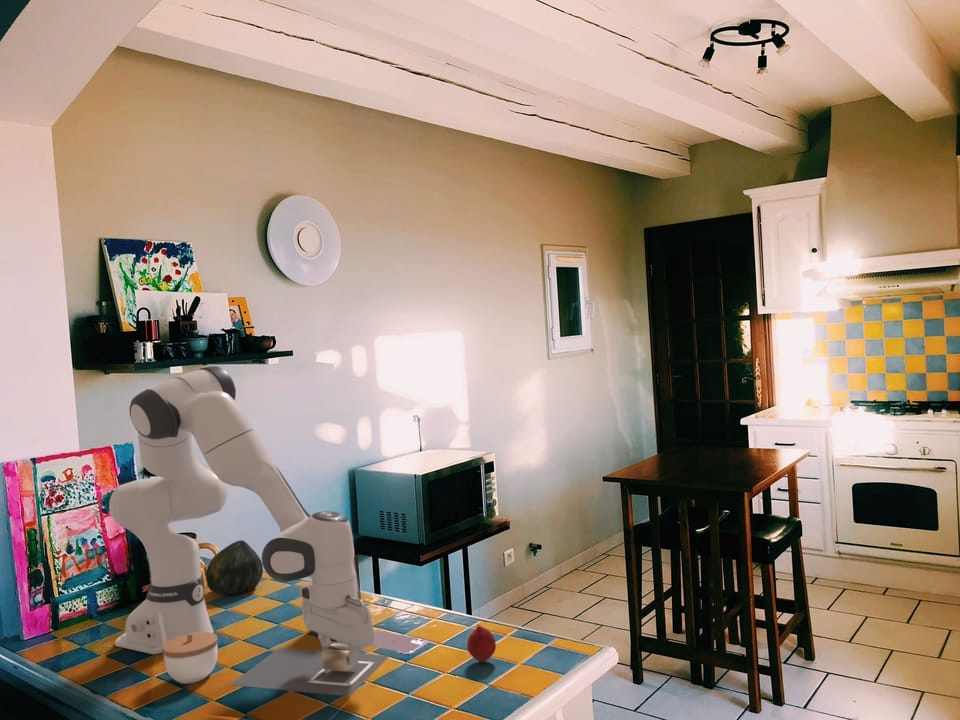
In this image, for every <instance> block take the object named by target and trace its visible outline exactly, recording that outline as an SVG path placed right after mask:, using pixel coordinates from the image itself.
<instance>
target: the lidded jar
mask: <svg viewBox="0 0 960 720" xmlns="http://www.w3.org/2000/svg"><path fill="white" fill-rule="evenodd" d="M218 642H219V641H218V635H217V634H216V633H214V632H213V633H211V632H195V633H189V634H185V635H182V636H179V637H176V638H174V639H172V640H170V641H168V642H167V643H165V644H164V646H163V648H162V650H163V652H162V654H163V661H164V666H165V669H166V672H167V673H168V676H169V677H171V679H172V680H174V681H175V682H177V683H179V684H183V685H185V684H186V685H187V684H193V683H197V682H200V681H202V680H204V679H206V678H207V677H208V676H209V675H210V674H211V672H212V671H214V669H215V667H216V664H217V661H218V651H219V650H218V649H219V648H218Z"/></svg>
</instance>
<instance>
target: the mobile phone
mask: <svg viewBox="0 0 960 720" xmlns="http://www.w3.org/2000/svg"><path fill="white" fill-rule="evenodd" d="M428 643H429V641H428V640H427V639H423V638H419V637H413V636H409V635H407V636H406V635H402V634H396V633H391V632H385V631H380V630H379V631H374V642H373V644H372V645H371V646H370V647H375V648H380V649H386V650H390V651H395V652H396V653H395V654H400V653H402V654H401V655H405V654H410V655H412V654H411V653H413V654H414V653H416V652H417V651H419V650H420V649H422V648H424V647H425V646H426V645H428ZM424 645H425V646H424ZM421 647H422V648H421ZM418 649H419V650H418ZM416 650H417V651H416ZM415 651H416V652H415Z"/></svg>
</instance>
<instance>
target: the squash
mask: <svg viewBox="0 0 960 720" xmlns="http://www.w3.org/2000/svg"><path fill="white" fill-rule="evenodd" d="M263 571H264V567H263V564H262V558H260V556H259V555H258V554H257V552H256V551H255V550H254V549H253V548H252V546H250V544H248V542H246V541H245V540H242V539H241V540H236V541H234V542H232V543H230V544H229V545H227V546H226V547H224V548H223V549H221V550H220V551H218V552H217V553H216V554H214V556H213V557H212V558H211V560H210V561H209V564H208V566H207V568H206V574H205V581H206V584H207V587H208V589H209V590H210V591H211V592H212V593H213V594H216V595H221V596H226V595H229V594H230V593H231V594H236V593H238V592H239V593H242V592H251V591H253V590H254V589H256V587H257V586H258V585H259V582H260V581H261V579H262V577H263Z"/></svg>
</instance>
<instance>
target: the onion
mask: <svg viewBox="0 0 960 720" xmlns="http://www.w3.org/2000/svg"><path fill="white" fill-rule="evenodd" d="M496 644H497V643H496V639H495V637H494V635H493V634H492V633H491V631H490V630H489V629H487V628H485V627H484V626H483V625H481V623H477V624H476V628H475V629H473V631H472V632H471V633H470V634H469V635H468V639H467V644H466V645H467V646H466V647H467V651H468V653H469V654H470V656H471V657H472V658H474V659H475V660H476V661H478V662H479V663H481V664H482V663H485V662H486V661H488V660H489V659H490V658H491V657H492V656H493V655H494V654H495V651H496V649H497V647H496V646H497V645H496Z"/></svg>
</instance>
